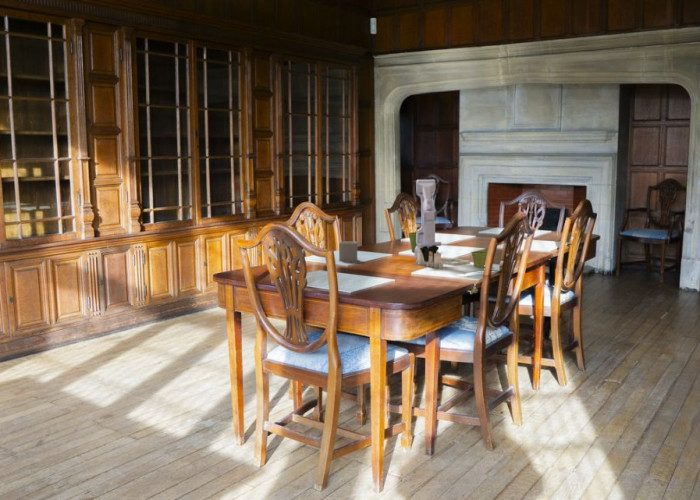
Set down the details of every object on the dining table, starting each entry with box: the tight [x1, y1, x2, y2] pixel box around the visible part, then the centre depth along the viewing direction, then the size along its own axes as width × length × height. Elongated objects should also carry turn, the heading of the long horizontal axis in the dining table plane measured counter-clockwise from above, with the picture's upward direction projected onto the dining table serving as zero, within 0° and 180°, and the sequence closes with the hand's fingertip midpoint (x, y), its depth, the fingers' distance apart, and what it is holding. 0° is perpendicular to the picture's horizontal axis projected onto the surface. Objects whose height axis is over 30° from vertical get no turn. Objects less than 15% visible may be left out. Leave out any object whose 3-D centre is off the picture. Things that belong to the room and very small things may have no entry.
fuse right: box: [433, 252, 442, 269], centre depth 358 cm, size 3×3×7 cm
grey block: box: [338, 240, 358, 263], centre depth 395 cm, size 13×10×10 cm
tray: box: [441, 257, 471, 266], centre depth 372 cm, size 12×12×3 cm
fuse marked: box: [426, 252, 434, 266], centre depth 362 cm, size 4×4×7 cm
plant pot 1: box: [407, 231, 424, 253], centre depth 424 cm, size 12×12×11 cm
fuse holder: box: [411, 259, 448, 270], centre depth 363 cm, size 19×7×4 cm, turn 36°
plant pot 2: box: [470, 250, 488, 268], centre depth 359 cm, size 9×9×9 cm
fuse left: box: [417, 250, 424, 266], centre depth 367 cm, size 3×3×7 cm
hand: (429, 261), depth 363 cm, fingers closed on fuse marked, 3 cm apart
